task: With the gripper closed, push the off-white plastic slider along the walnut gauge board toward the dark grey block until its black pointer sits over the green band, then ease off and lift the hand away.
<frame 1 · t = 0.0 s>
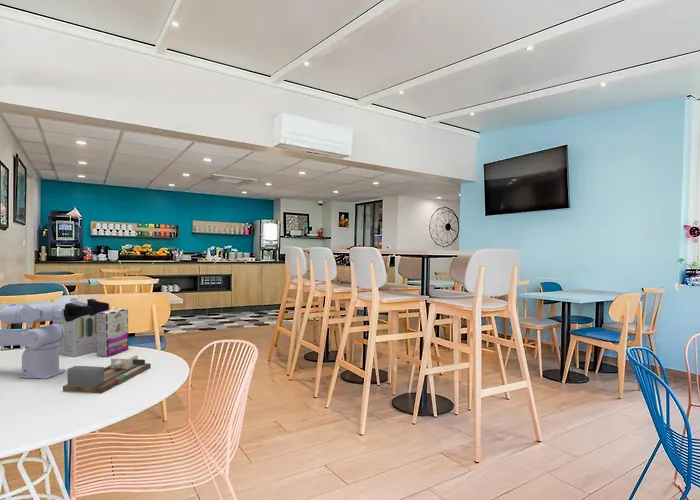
hand: (100, 308, 134), 22 cm above the table, tool horizontal, fingers open, 7 cm apart
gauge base: (110, 378, 133), on the table
candy bar box: (112, 353, 163), on the table
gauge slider: (128, 362, 139), point 3 cm above the table, slide at 0.0 cm
supplement box: (80, 351, 165), on the table
dark grey block: (85, 376, 122), point 4 cm above the table
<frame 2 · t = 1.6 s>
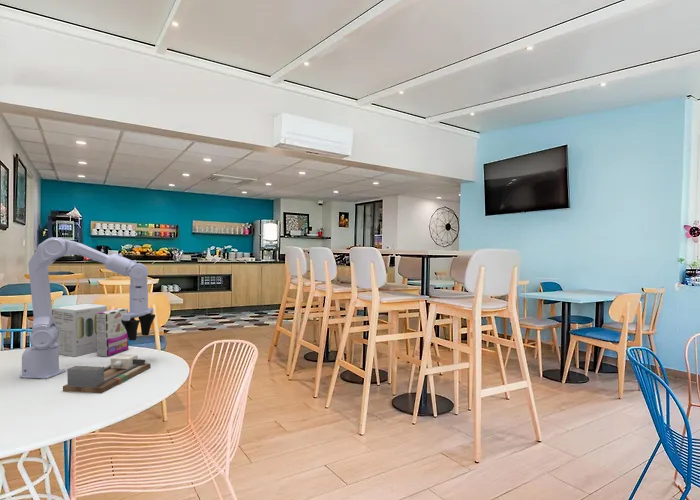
hand: (139, 337, 148), 9 cm above the table, tool pointing down, fingers open, 7 cm apart
nothing on the table moved.
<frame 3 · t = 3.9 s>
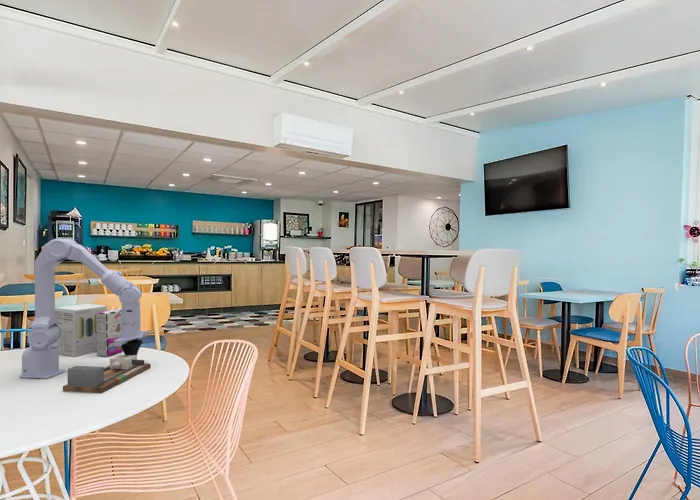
hand: (131, 362, 143), 2 cm above the table, tool pointing down, fingers closed
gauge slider: (127, 362, 138), point 3 cm above the table, slide at 0.5 cm, touching gripper
everything else where it was.
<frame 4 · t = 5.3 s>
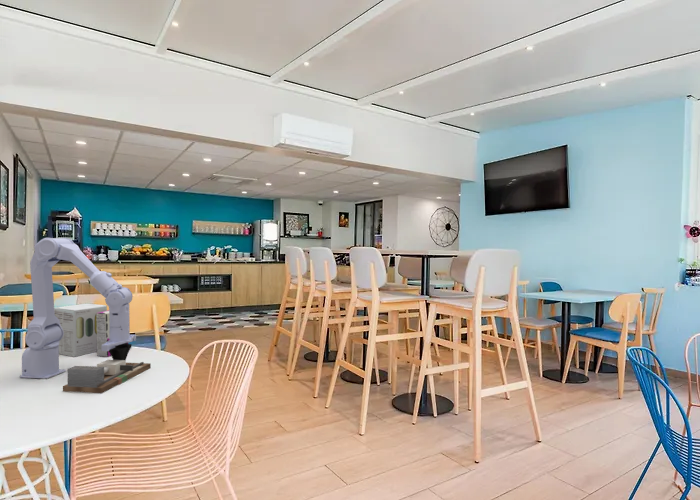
hand: (119, 367, 137), 2 cm above the table, tool pointing down, fingers closed
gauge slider: (115, 368, 132), point 3 cm above the table, slide at 6.4 cm, touching gripper
everything else where it was.
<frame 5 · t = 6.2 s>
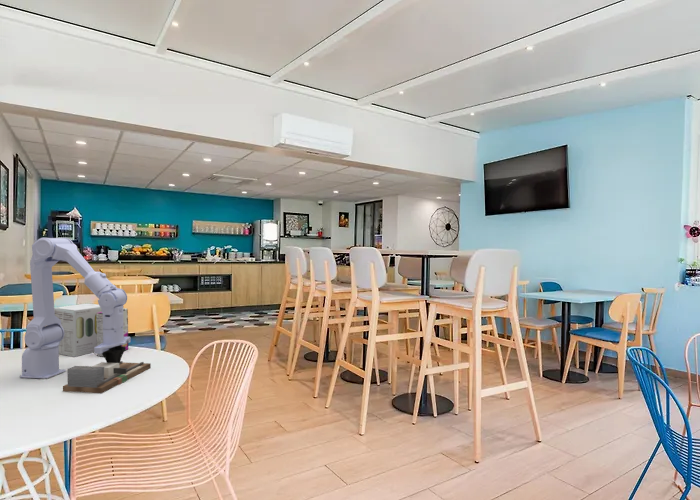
hand: (113, 370, 134), 2 cm above the table, tool pointing down, fingers closed
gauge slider: (108, 371, 129), point 3 cm above the table, slide at 9.5 cm, touching gripper
everything else where it was.
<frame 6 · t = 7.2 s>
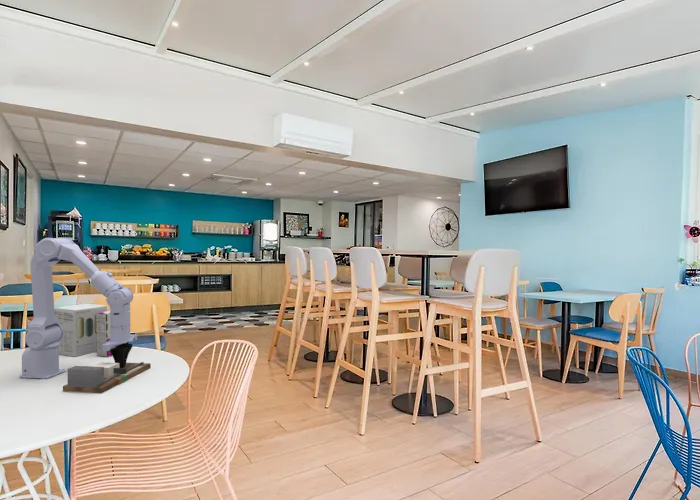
hand: (120, 367, 138), 2 cm above the table, tool pointing down, fingers closed
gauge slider: (108, 371, 129), point 3 cm above the table, slide at 9.5 cm
everything else where it was.
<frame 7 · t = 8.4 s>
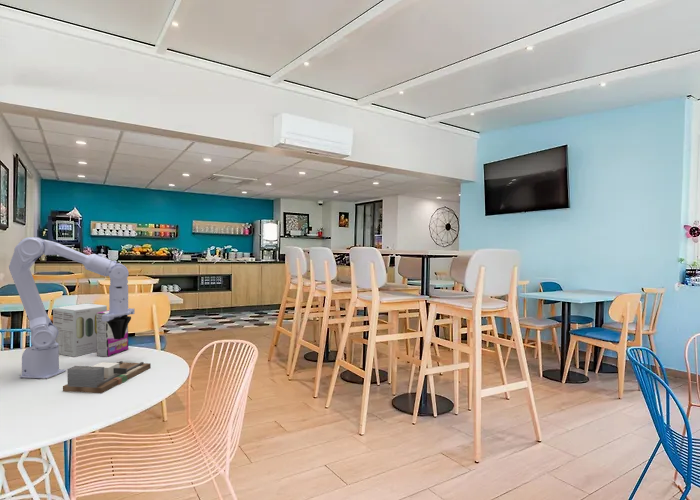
hand: (119, 338, 146), 9 cm above the table, tool pointing down, fingers closed
nothing on the table moved.
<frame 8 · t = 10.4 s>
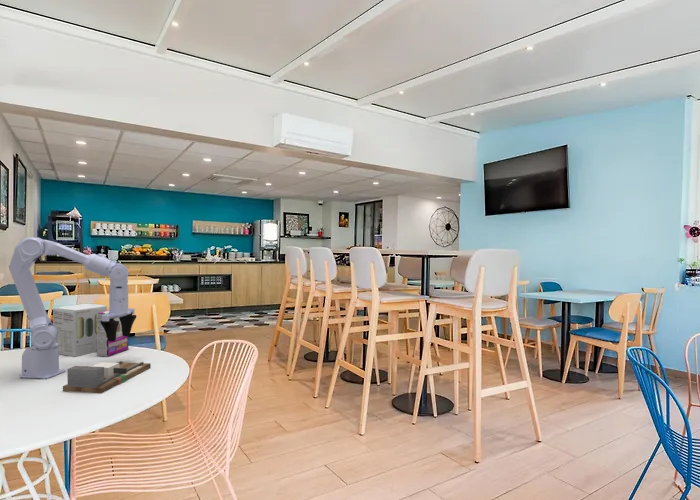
hand: (119, 338, 146), 9 cm above the table, tool pointing down, fingers open, 7 cm apart
nothing on the table moved.
at the end: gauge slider slide at 9.5 cm; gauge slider touching nothing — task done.
